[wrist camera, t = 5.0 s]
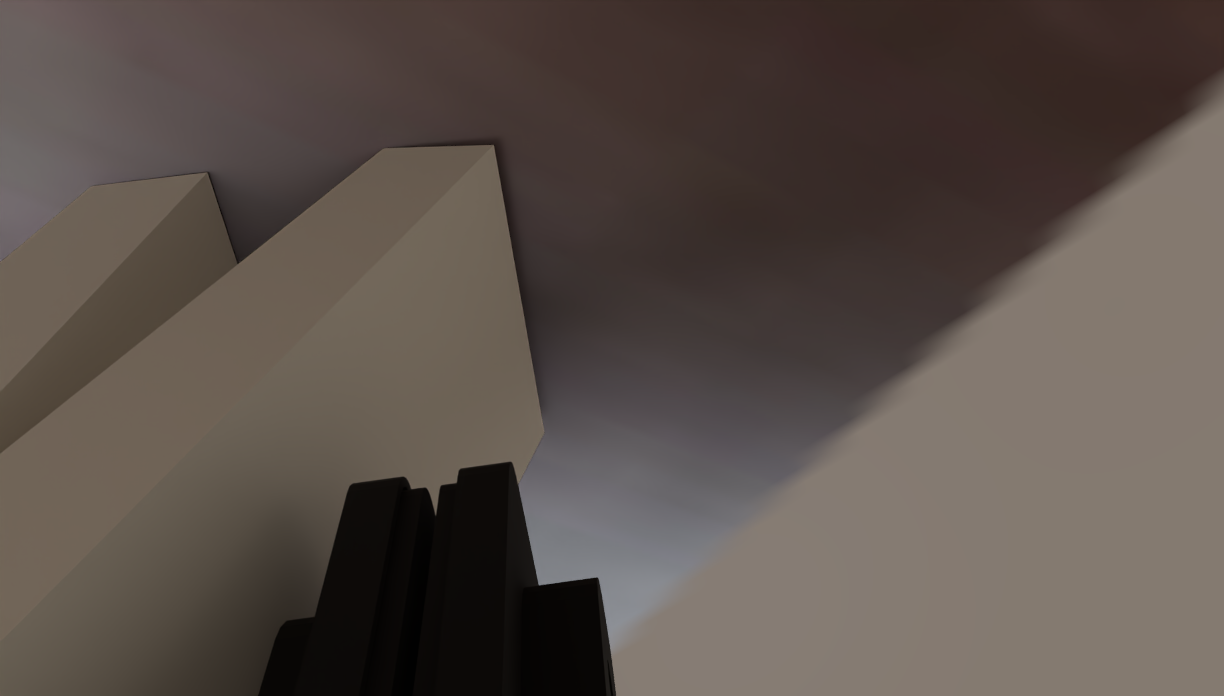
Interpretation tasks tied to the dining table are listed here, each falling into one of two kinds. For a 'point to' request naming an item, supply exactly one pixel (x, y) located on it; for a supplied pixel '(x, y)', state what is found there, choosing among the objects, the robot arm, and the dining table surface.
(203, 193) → the tile
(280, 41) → the dining table surface
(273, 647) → the robot arm
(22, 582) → the tile
